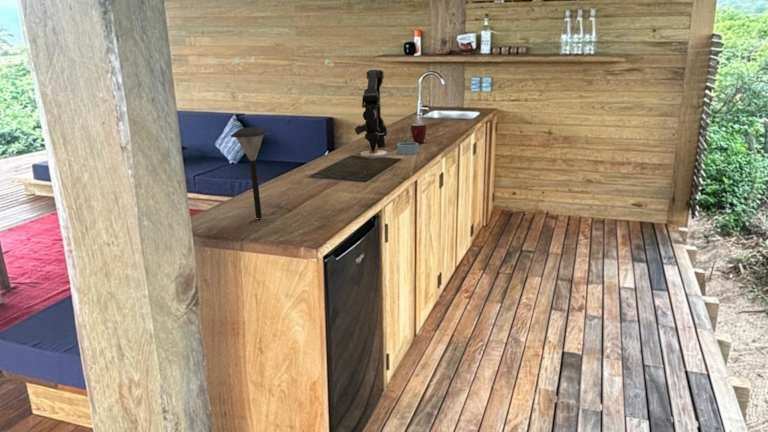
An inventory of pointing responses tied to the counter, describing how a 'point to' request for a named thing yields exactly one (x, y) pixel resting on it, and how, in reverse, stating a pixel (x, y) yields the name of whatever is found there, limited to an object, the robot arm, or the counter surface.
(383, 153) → the lid
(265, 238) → the counter surface
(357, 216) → the counter surface
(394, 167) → the counter surface
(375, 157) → the mat
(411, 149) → the bowl
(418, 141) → the mug
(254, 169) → the solar garden light
